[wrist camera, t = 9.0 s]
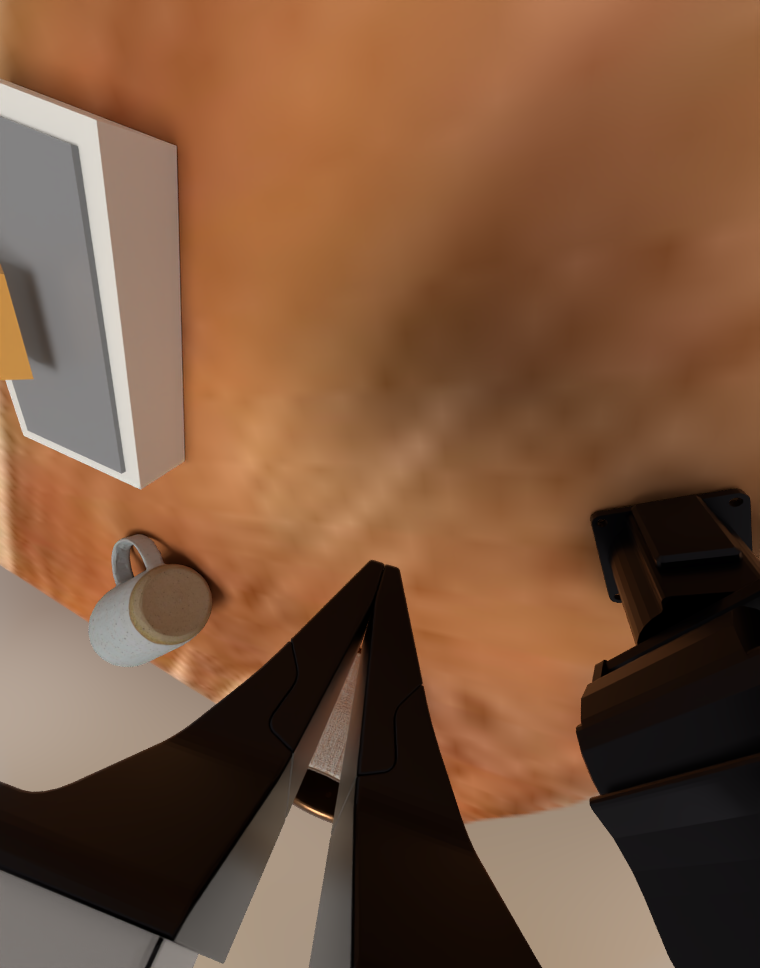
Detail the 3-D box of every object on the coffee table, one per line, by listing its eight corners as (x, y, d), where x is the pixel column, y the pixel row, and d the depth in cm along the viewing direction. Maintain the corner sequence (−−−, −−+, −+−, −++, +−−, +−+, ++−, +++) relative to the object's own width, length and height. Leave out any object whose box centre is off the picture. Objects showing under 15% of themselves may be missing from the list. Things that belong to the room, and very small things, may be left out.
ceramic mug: (233, 598, 35) (172, 671, 29) (192, 617, 39) (131, 685, 33) (149, 515, 32) (62, 576, 26) (115, 546, 37) (33, 604, 30)
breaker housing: (176, 146, 17) (88, 117, 13) (184, 461, 27) (136, 492, 24) (9, 81, 17) (-118, 38, 14) (80, 414, 28) (18, 437, 24)
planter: (291, 640, 36) (231, 747, 28) (393, 645, 32) (355, 773, 24) (333, 706, 41) (291, 814, 33) (427, 718, 36) (404, 845, 28)
